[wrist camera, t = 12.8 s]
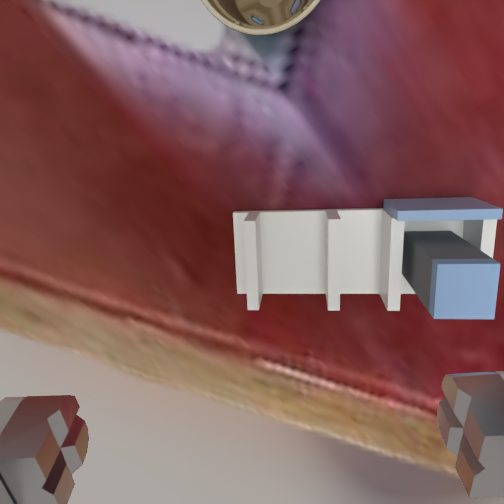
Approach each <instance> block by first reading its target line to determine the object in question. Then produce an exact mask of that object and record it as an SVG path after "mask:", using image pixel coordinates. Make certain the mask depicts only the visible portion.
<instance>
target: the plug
mask: <svg viewBox="0 0 504 504" xmlns="http://www.w3.org/2000/svg"><path fill="white" fill-rule="evenodd" d="M499 273H500V263H499V262H497V261H496V260H494V259H493V258H491V257H490V256H488V255H487V254H485V253H484V252H482V251H481V250H479V249H478V248H476V247H475V246H473V245H472V244H470V243H469V242H467V241H466V240H464V239H463V238H461V237H460V236H458V235H457V234H455V233H454V232H452V231H451V230H449V231H404V240H403V258H402V275H403V276H404V278H405V279H406V280H407V282H408V283H409V285H410V286H411V287H412V289H413V290H414V292H415V293H416V295H417V296H418V297H419V299H420V300H421V302H422V303H423V304H424V306H425V307H426V309H427V310H428V312H429V313H430V314H431V316H432V317H433V319H494V316H495V307H496V299H497V290H498V281H499Z"/></svg>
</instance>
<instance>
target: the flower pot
mask: <svg viewBox="0 0 504 504" xmlns="http://www.w3.org/2000/svg"><path fill="white" fill-rule="evenodd" d="M201 1H202V2H203V3H204V5H205V6H206V8H207V9H208V10H209V11H210V13H211V14H212V15H213V16H214V17H216V18H217V19H218V20H219V21H220V22H222V23H223V24H224V25H226V26H228V27H229V28H231V29H233V30H236V31H239V32H242V33H245V34H251V35H269V34H274V33H278V32H281V31H284V30H286V29H288V28H290V27H292V26H294V25H296V24H297V23H298V22H300V21H301V20H302V19H304V18H305V17H306V16H307V15H308V14H309V13H310V12H311V11H312V10H313V9H314V8H315V7H316V5H317V4H318V3H319V2H320V0H301V4H300V6H299V7H298V9H297V10H296V12H295V13H294V14H292V13H291V11H290V10H291V8H292V6H293V4H294V3H295V0H201ZM251 16H253V17H255V18H259V20H260V21H262V22H263V24H262V25H261V24H258V23H257V22H255V21H253V20H252V18H251Z"/></svg>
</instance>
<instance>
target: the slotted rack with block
mask: <svg viewBox="0 0 504 504" xmlns="http://www.w3.org/2000/svg"><path fill="white" fill-rule="evenodd" d="M502 211H503V209H502V208H500V207H497V206H494V205H492V204H489V203H487V202H484V201H481V200H479V199H476V198H474V197H451V198H411V199H384V204H383V208H358V209H314V210H269V211H234V212H233V225H234V243H235V262H236V280H237V294H247V307H248V310H259V308H260V303H261V299H262V295H263V294H326V301H327V307H328V310H330V311H340V294H380V296H381V298H382V300H383V302H384V304H385V306H386V309H387V311H400V296H401V294H416V293H415V292H414V290H413V289H412V287H411V286H410V285H409V283H408V282H407V280H406V279H405V278H404V276H403V275H402V258H403V240H404V231H449V230H451V231H452V232H454V233H455V234H457V235H458V236H460V237H461V238H463V239H464V240H466V241H467V242H469V243H470V244H472V245H473V246H475V247H476V248H478V249H479V250H481V251H482V252H484V253H485V254H487V255H488V256H490V257H491V258H493V252H494V243H495V234H496V225H497V219H502Z"/></svg>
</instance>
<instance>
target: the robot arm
mask: <svg viewBox="0 0 504 504" xmlns="http://www.w3.org/2000/svg"><path fill="white" fill-rule="evenodd" d="M442 390H443V392H444V394H445V396H446V397H445V398H444V399H442V400H441V401H440V402H439V406H438V414H437V415H438V424H439V429H440V433H441V436H442V439H443V441H444V443H445V446H446V448H447V449H449V450H450V451H451V452H452V453H454V454H455V455H456V456H457V460H456V465H455V468H456V470H457V473H458V475H459V477H460V479H461V481H462V483H463V485H464V488H465V490H466V492H467V494H468V497H469V498H491V497H492V498H493V497H504V371H496V372H480V373H464V374H449V375H446V376H445V377H444V379H443V383H442ZM78 409H79V404H78V403H77V400H76V398H75V396H71V395H62V396H28V397H6V398H4V399H3V400H1V401H0V504H67V503H68V500H69V498H70V495H71V493H72V490H73V488H74V485H75V483H74V480H73V477H72V474H73V473H74V472H75V471H76V470H77V469H78V468H79V467H80V466H82V464H83V462H84V459H85V456H86V453H87V448H88V440H89V437H88V428H87V425H86V423H85V421H84V420H83V419H82V418H80V417H79V416H77V415H76V414H77V411H78Z"/></svg>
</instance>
